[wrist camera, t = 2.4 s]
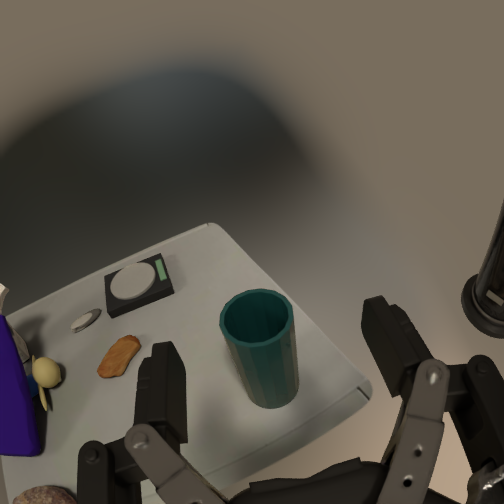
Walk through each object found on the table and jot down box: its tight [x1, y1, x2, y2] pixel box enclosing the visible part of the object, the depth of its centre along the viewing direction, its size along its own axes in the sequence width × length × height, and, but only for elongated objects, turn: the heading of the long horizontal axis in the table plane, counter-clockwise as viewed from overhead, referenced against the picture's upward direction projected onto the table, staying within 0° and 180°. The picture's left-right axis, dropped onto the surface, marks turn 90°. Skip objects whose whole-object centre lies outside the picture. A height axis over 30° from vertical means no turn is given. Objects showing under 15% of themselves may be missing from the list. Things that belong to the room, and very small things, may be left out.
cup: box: [219, 289, 299, 409], centre depth 29 cm, size 6×6×13 cm
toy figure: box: [26, 355, 61, 411], centre depth 34 cm, size 11×9×5 cm
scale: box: [104, 253, 174, 318], centre depth 49 cm, size 11×9×2 cm
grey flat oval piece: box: [70, 309, 101, 333], centre depth 45 cm, size 6×2×1 cm, turn 136°
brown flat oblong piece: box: [97, 335, 141, 378], centre depth 38 cm, size 8×2×5 cm
